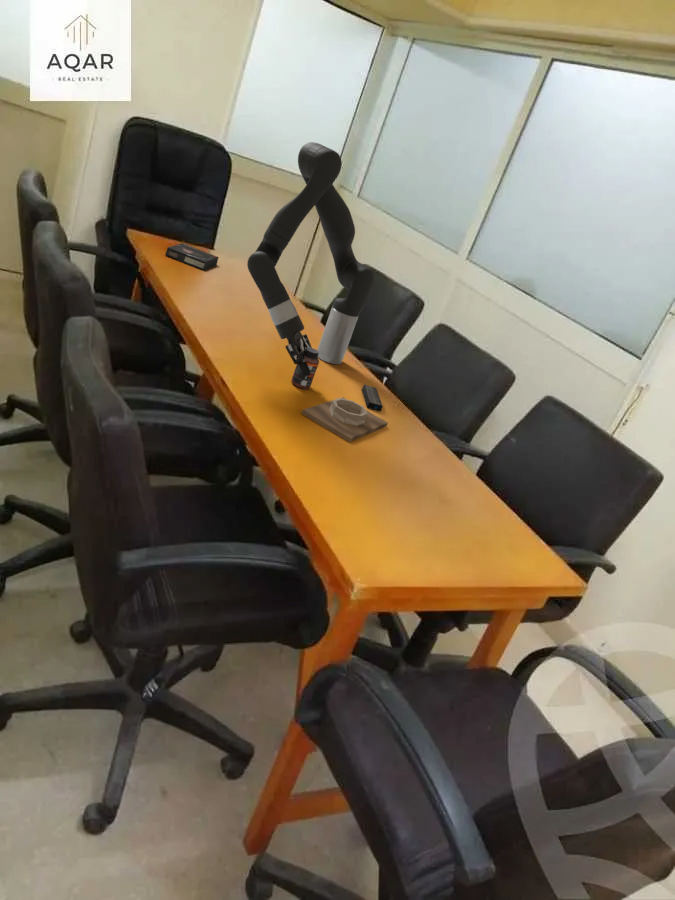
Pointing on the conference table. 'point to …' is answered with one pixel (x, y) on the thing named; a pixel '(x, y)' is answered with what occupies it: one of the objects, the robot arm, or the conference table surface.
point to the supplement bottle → (312, 363)
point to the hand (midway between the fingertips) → (311, 372)
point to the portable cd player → (192, 256)
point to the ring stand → (345, 418)
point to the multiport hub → (372, 398)
